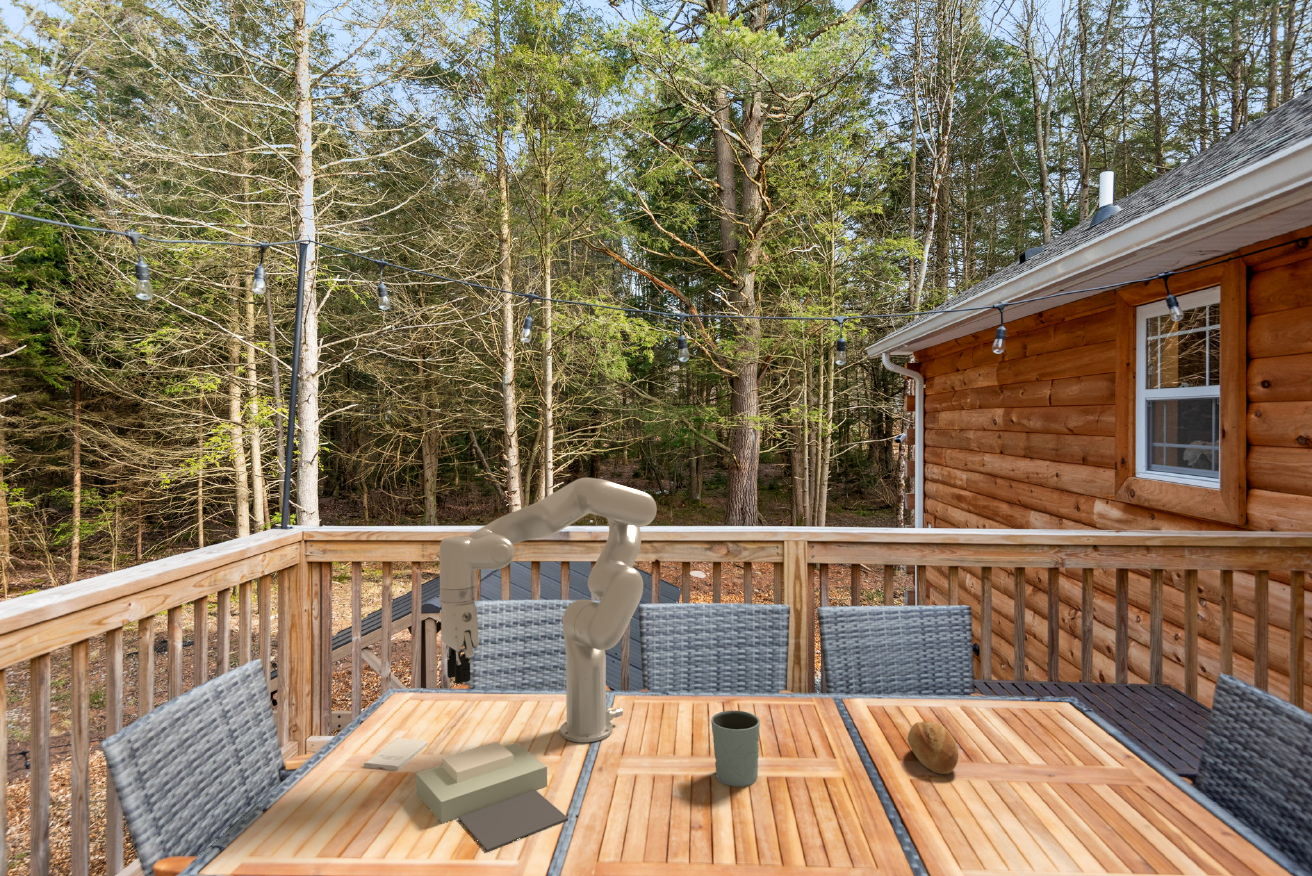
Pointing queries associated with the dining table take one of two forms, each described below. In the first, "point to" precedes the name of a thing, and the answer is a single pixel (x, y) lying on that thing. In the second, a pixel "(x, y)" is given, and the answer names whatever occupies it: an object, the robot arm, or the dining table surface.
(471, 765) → the cream flat block
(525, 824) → the mat
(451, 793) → the sage green block
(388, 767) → the external hard drive
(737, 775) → the grey green cup
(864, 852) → the dining table surface
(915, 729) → the bread roll
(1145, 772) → the dining table surface
